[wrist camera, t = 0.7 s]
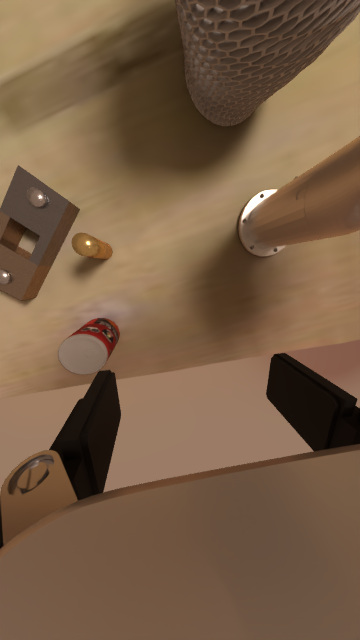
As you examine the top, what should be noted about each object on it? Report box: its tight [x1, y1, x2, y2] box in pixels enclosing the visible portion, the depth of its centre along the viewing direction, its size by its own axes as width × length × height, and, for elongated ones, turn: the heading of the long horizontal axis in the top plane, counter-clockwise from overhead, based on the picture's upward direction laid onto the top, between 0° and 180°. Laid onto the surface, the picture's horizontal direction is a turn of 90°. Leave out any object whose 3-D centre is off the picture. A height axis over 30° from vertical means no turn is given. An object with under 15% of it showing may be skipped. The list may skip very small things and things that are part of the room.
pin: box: [72, 233, 112, 259], centre depth 30 cm, size 3×3×10 cm
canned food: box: [58, 318, 120, 375], centre depth 34 cm, size 8×8×11 cm
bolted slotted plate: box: [0, 165, 80, 301], centre depth 31 cm, size 20×8×5 cm, turn 145°
